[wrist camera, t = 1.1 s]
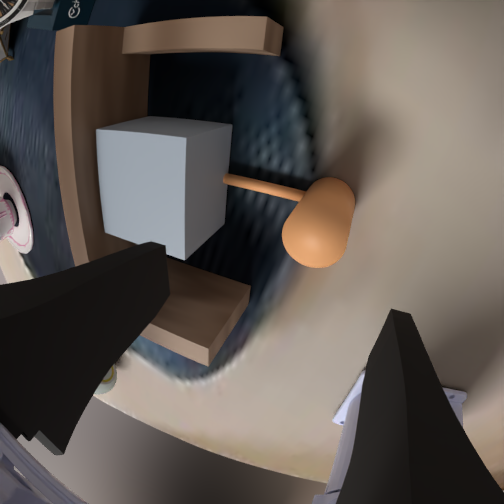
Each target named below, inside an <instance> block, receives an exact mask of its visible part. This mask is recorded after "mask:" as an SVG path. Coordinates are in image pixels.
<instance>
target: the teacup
mask: <svg viewBox="0 0 504 504" xmlns="http://www.w3.org/2000/svg"><path fill="white" fill-rule="evenodd" d="M6 192H7V193H9V194H10V196H11V197H12V199H13V200H14V202H15V205H16V207H17V210H18V214H19V226H18V227H15V226H14V225H15V224H16V222H17V214H16V211H15V208H14V206H13V204H12V202H11V201H10V200H6V199H3V195H4V193H6ZM5 238H7V239H8V241H9V242H10V243H11V245H12V246H13V247H14V248H15V249H16V250H18V251H19V252H21V253H25V254H27V253H28V252H29V251H30V250H31V249H32V246H33V228H32V223H31V218H30V214H29V211H28V208H27V205H26V201H25V199H24V196H23V194H22V192H21V189H20V187H19V185H18V183H17V182H16V180H15V178H14V177H13V175H12V173H11V172H10V171H9V170H8V169H7V168H6V167H3V166H0V242H1V241H2V240H3V239H5Z"/></svg>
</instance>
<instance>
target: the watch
mask: <svg viewBox="0 0 504 504" xmlns="http://www.w3.org/2000/svg"><path fill="white" fill-rule="evenodd" d="M94 2H95V0H0V29H1V28H3V27H4V26H5V25H7V24H10V23H12V22H15V21H17V20H20V19H22V18H25V17H28V16H29V20H28V24H27V28H35V29H44V30H62V29H65V28H67V27H70V26H73V25H87V24H88V20H89V17H90V14H91V11H92V8H93V5H94Z"/></svg>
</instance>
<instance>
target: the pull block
mask: <svg viewBox="0 0 504 504" xmlns="http://www.w3.org/2000/svg"><path fill="white" fill-rule="evenodd" d="M231 136H232V124H224V123H217V122H209V121H200V120H191V119H180V118H169V117H156V116H148V117H144V118H139V119H135V120H130V121H126V122H122V123H118V124H114V125H110V126H106V127H103V128H99V129H96V142H97V161H98V175H99V186H100V196H101V206H102V214H103V222H104V229H105V233H108V234H111V235H114V236H116V237H119V238H122V239H125V240H128V241H130V242H133V243H136V244H142V243H146V242H150V241H152V242H156V243H159V244H162V245H166V254H167V255H170V256H173V257H176V258H179V259H182V260H186V259H187V258H188V257H189V256H190V255H191V254H192V253H193V252H195V251H196V250H197V249H198V248H199V247H200V246H201V245H202V244H203V243H204V242H205V241H206V240H207V239H209V238H210V237H211V236H212V235H213V234H214V233H215V232H216V231H217V230H218V229H219V228H221V227H222V226H223V225H224V224H225V210H226V197H227V184H228V185H233V186H237V187H241V188H246V189H250V190H254V191H258V192H262V193H267V194H271V195H275V196H279V197H283V198H287V199H291V200H295V201H298V202H299V203H298V204H297V206H296V207H295V209H294V210H293V211H292V213H291V214H290V216H289V217H288V219H287V220H286V222H285V224H284V226H283V230H282V239H283V244H284V246H285V249H286V250H287V252H288V253H289V255H290V256H291V257H292V258H293V259H295V260H296V261H297V262H299V263H300V264H303V265H305V266H308V267H312V268H323V267H327V266H330V265H332V264H334V263H336V262H337V261H338V260H339V259H340V258H341V257H342V256H343V254H344V252H345V249H346V246H347V241H348V237H349V232H350V227H351V223H352V218H353V213H354V208H355V197H354V194H353V192H352V190H351V188H350V187H349V186H348V185H347V184H346V183H345V182H343V181H342V180H340V179H337V178H333V177H325V178H321V179H319V180H317V181H315V182H314V183H313V184H312V185H311V186H310V187H309V189H308V190H307V192H306V191H302V190H298V189H294V188H290V187H286V186H282V185H278V184H274V183H269V182H265V181H261V180H256V179H252V178H247V177H243V176H238V175H233V174H229V173H228V171H229V159H230V148H231Z"/></svg>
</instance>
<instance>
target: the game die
mask: <svg viewBox="0 0 504 504" xmlns="http://www.w3.org/2000/svg"><path fill="white" fill-rule="evenodd" d="M10 27H11V23H10V24H7V25H5V26H4V27H3V28H1V29H0V62H2V61H3V60H5V59H8V60H9V61H10V60H14V59H13V57H12V56H8V47H9V36H10Z"/></svg>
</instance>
